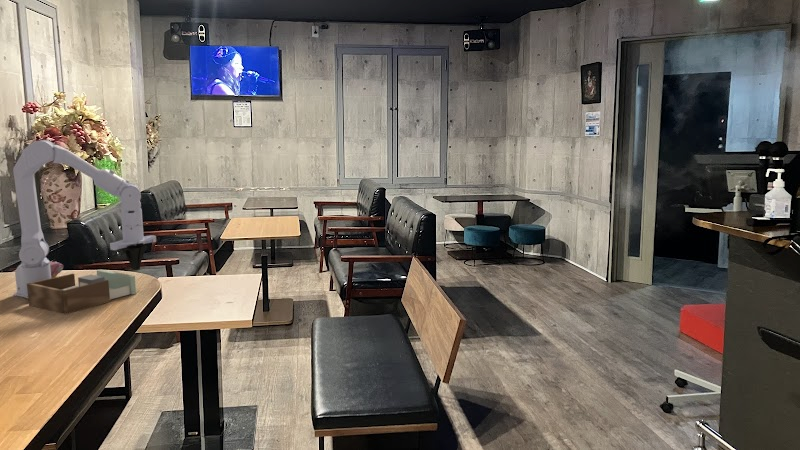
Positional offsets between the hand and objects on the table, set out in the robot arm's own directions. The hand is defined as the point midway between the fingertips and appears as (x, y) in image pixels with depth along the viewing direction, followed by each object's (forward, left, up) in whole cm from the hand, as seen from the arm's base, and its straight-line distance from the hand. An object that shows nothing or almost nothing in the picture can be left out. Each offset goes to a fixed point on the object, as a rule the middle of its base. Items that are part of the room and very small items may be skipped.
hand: (135, 269), depth 189 cm
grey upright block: (0, -15, -4) cm, 15 cm away
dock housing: (0, -21, -5) cm, 21 cm away
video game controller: (-30, -9, -5) cm, 32 cm away
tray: (0, -12, -5) cm, 13 cm away
